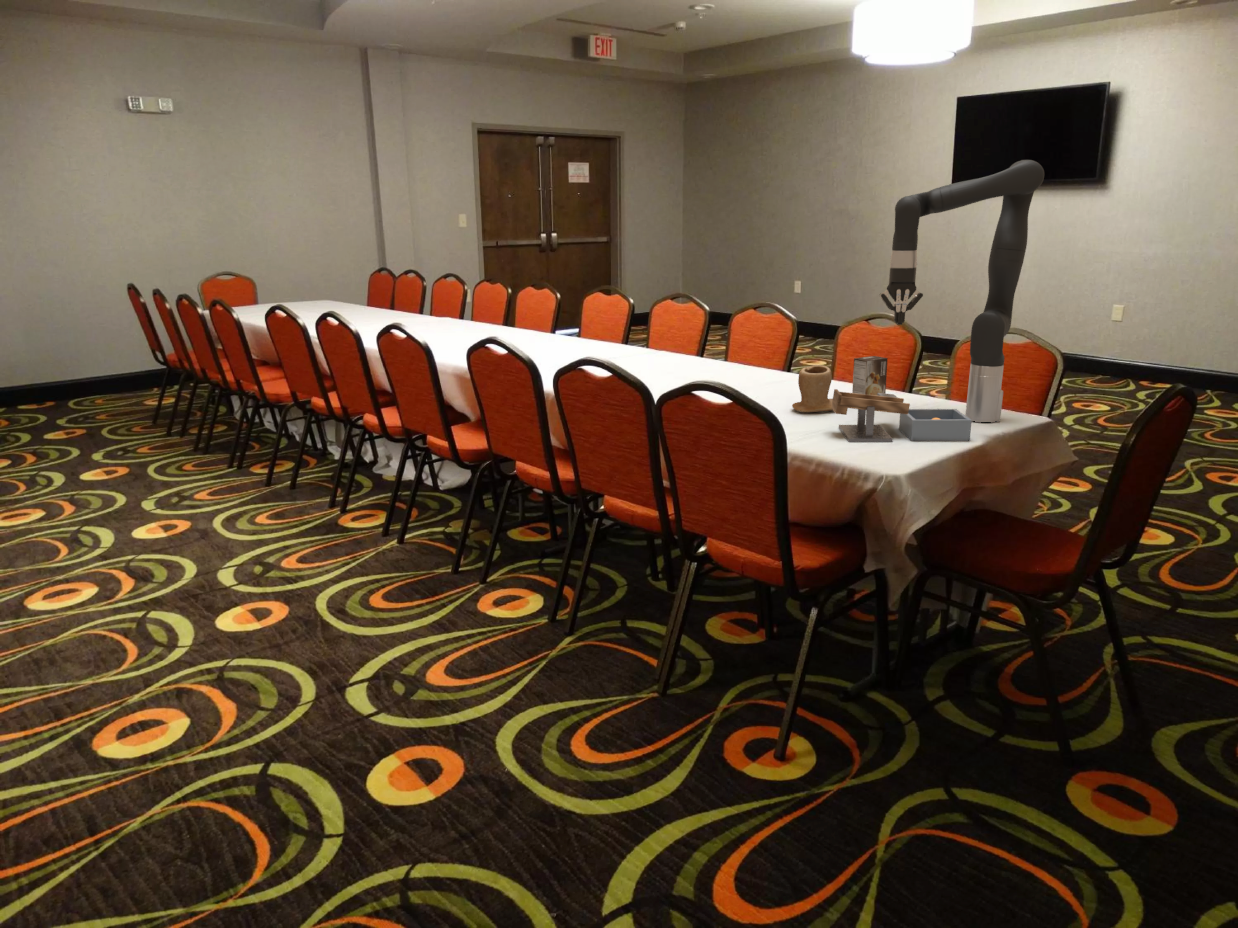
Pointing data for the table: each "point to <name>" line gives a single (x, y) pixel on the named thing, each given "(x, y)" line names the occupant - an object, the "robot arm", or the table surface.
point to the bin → (935, 425)
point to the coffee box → (869, 375)
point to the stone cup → (814, 389)
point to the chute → (868, 402)
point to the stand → (865, 428)
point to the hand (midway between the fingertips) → (898, 324)
